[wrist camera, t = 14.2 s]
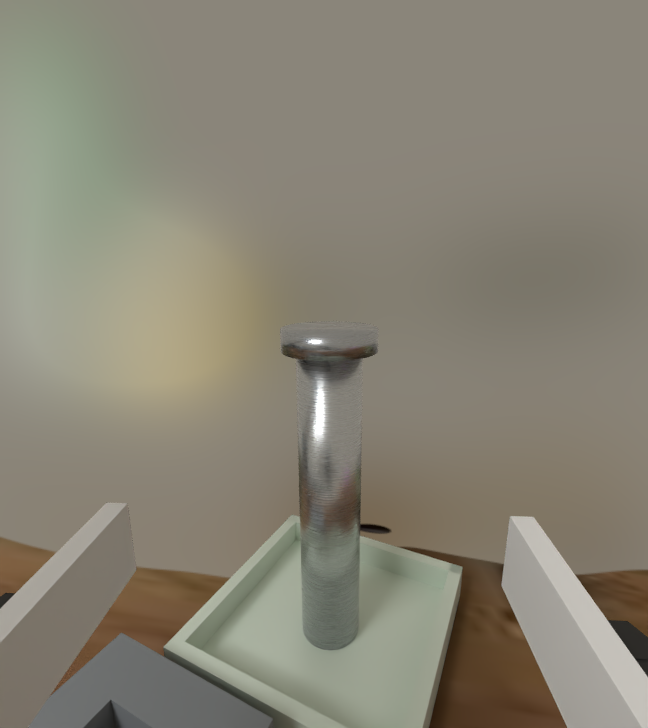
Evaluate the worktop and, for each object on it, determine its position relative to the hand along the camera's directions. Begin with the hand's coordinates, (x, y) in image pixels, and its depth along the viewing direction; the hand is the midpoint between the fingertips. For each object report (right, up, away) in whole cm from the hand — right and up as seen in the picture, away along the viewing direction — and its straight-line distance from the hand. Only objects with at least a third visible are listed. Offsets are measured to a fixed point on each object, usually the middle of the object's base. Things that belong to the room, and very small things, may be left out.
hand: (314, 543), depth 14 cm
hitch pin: (+1, -11, +12) cm, 16 cm away
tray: (+1, -11, +13) cm, 17 cm away
